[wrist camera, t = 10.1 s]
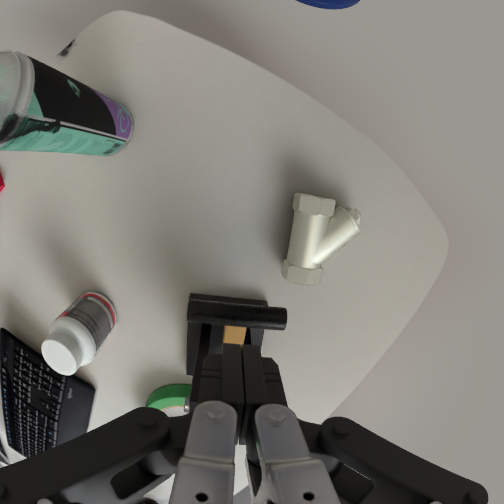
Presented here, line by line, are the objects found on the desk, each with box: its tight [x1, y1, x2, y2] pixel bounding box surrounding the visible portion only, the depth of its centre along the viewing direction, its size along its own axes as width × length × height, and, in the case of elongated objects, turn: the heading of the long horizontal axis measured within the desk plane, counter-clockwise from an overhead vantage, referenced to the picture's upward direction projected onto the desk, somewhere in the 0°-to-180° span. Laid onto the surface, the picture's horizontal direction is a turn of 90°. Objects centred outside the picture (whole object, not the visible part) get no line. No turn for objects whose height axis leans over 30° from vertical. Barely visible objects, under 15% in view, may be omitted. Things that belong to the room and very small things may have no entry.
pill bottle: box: [41, 292, 117, 375], centre depth 25 cm, size 5×5×10 cm
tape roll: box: [146, 384, 192, 411], centre depth 33 cm, size 11×11×3 cm
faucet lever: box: [187, 299, 287, 354], centre depth 18 cm, size 13×5×2 cm, turn 173°
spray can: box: [0, 50, 134, 156], centre depth 15 cm, size 6×6×20 cm
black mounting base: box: [184, 293, 268, 413], centre depth 25 cm, size 10×8×13 cm
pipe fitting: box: [281, 193, 361, 285], centre depth 27 cm, size 8×4×7 cm
